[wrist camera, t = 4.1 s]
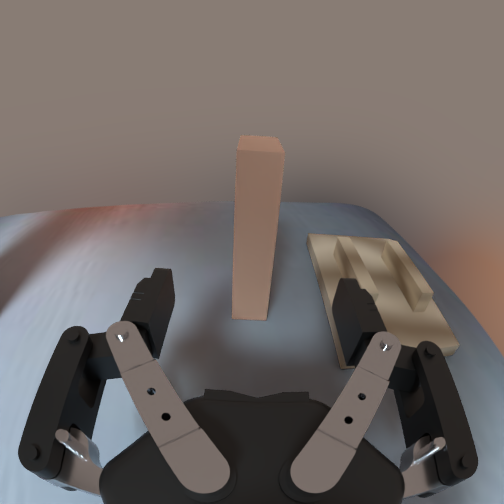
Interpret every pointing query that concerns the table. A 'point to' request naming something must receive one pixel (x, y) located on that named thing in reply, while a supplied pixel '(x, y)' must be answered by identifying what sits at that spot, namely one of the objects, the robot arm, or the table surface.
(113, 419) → the table surface
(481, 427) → the table surface
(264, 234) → the block
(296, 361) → the table surface
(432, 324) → the plate
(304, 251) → the table surface
